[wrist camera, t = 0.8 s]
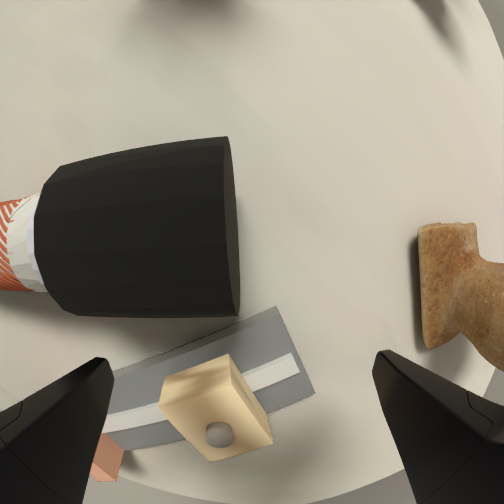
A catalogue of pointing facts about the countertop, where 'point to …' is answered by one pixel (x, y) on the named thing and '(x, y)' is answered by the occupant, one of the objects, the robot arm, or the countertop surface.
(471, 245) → the stone cup
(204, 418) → the block
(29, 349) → the countertop surface
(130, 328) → the countertop surface
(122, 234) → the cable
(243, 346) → the track
